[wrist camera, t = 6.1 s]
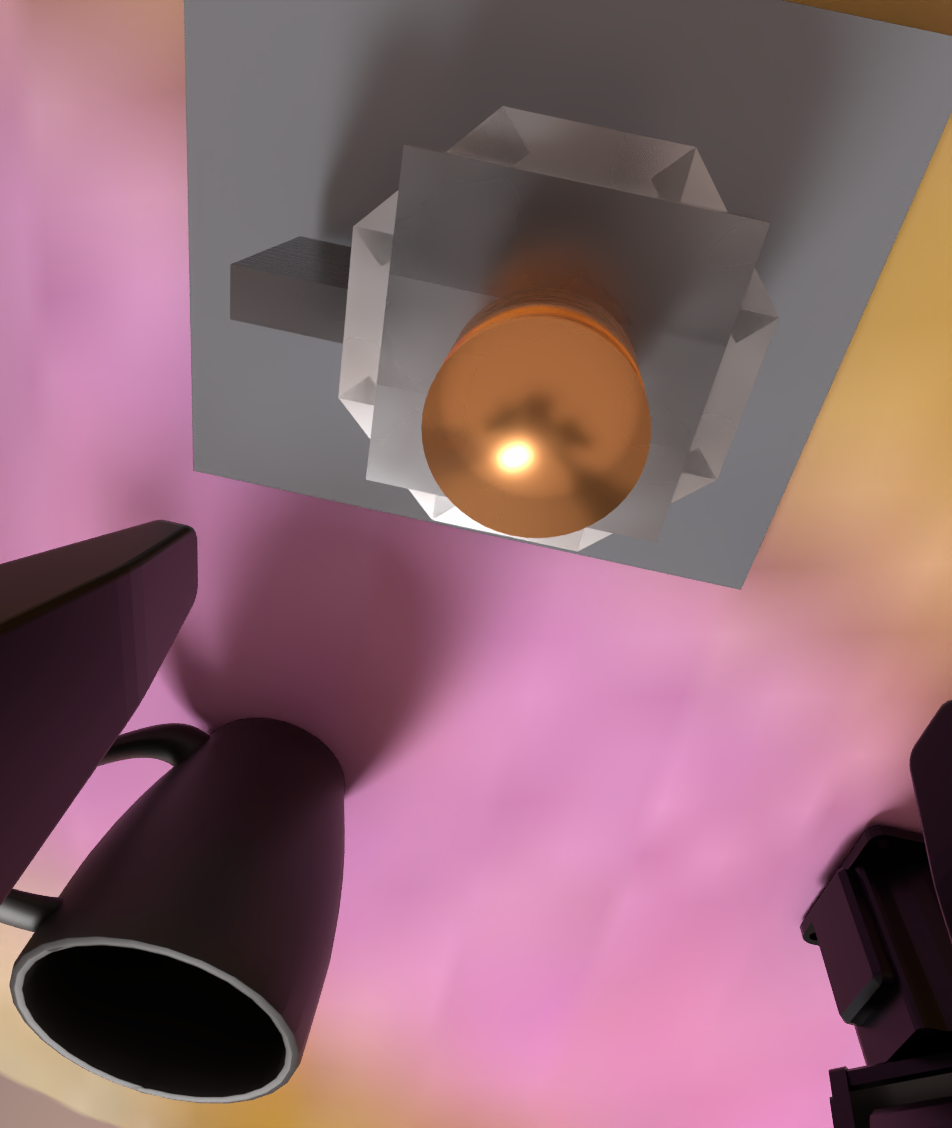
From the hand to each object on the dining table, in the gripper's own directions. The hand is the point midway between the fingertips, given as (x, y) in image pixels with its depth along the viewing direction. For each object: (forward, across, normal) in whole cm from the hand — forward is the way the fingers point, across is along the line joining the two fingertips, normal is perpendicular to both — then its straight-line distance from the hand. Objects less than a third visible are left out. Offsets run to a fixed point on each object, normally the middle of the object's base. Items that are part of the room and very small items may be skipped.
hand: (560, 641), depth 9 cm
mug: (+13, +9, +17) cm, 23 cm away
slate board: (+12, +2, -2) cm, 13 cm away
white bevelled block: (+11, +2, -1) cm, 12 cm away
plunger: (+11, +1, -1) cm, 11 cm away
